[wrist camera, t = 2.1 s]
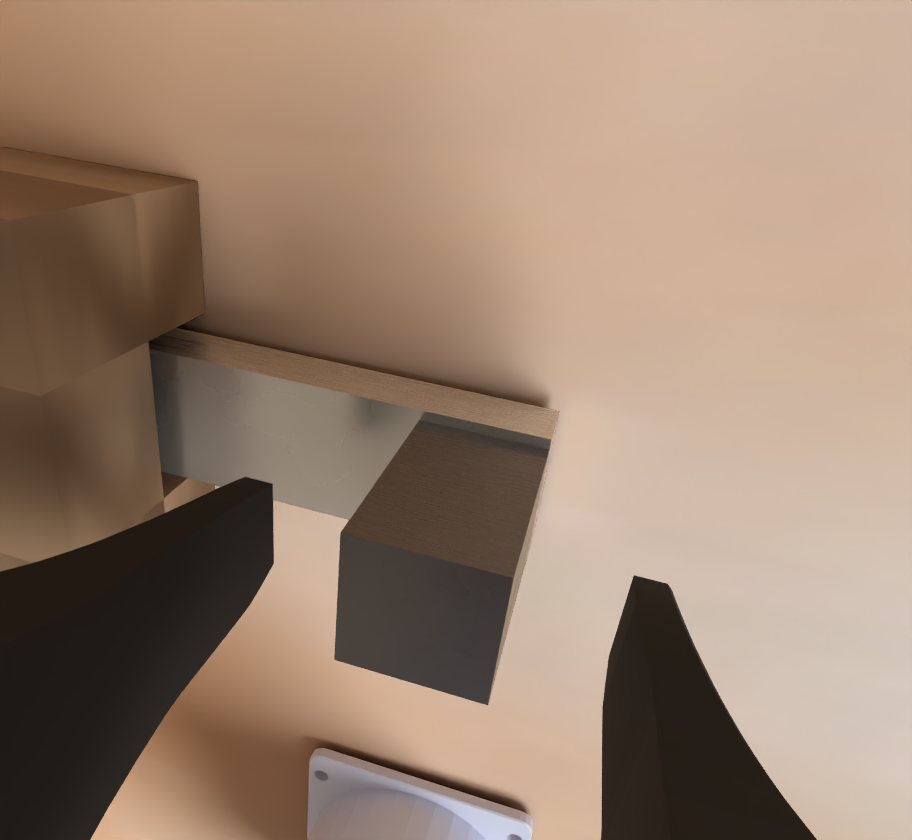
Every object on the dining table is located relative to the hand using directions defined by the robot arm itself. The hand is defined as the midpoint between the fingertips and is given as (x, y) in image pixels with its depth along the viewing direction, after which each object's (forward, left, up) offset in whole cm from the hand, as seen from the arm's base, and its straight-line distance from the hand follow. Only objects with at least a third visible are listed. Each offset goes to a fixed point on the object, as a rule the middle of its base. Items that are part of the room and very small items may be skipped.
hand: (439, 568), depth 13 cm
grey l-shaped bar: (0, +11, -5) cm, 11 cm away
